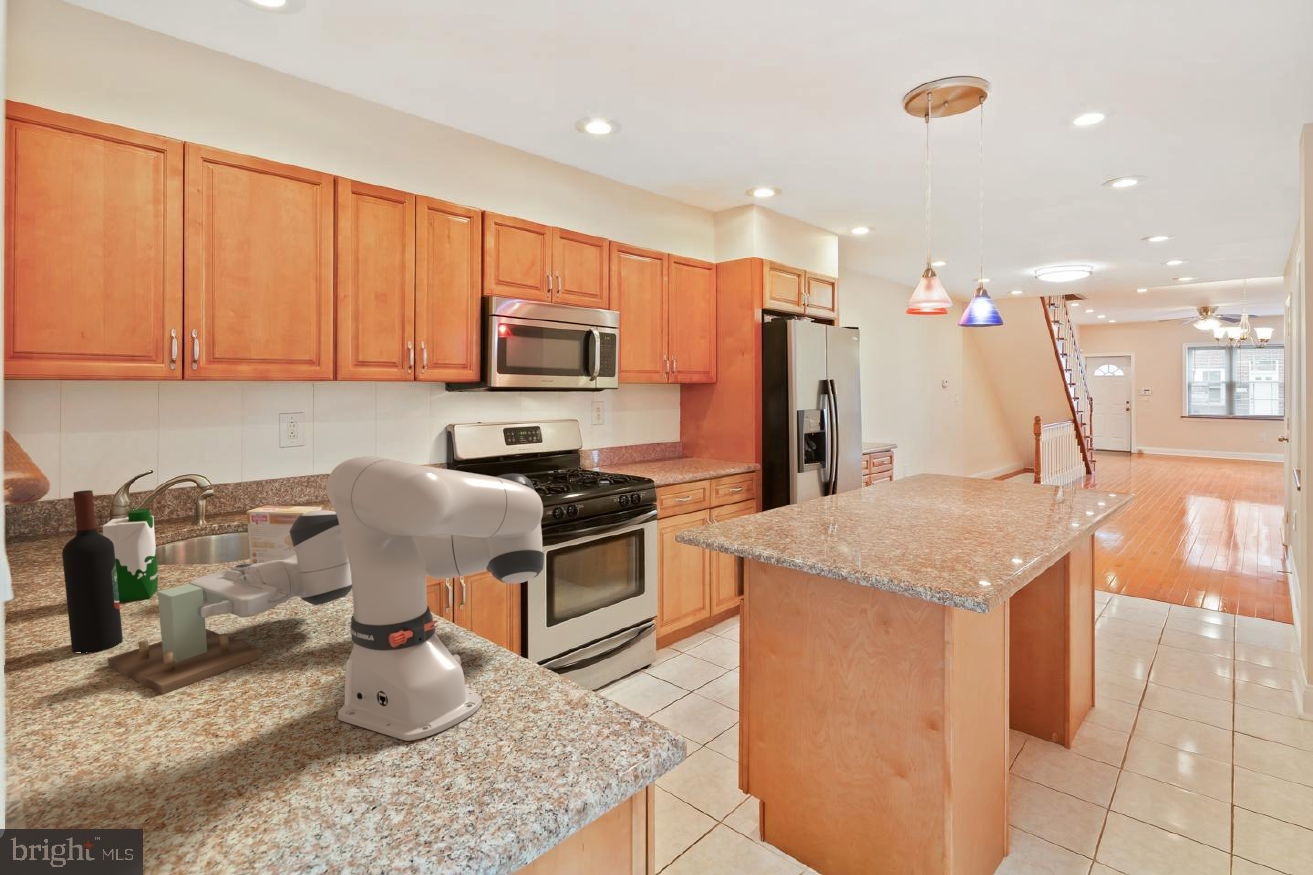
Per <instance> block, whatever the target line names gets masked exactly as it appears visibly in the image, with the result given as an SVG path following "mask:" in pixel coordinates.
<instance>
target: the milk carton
mask: <svg viewBox="0 0 1313 875" xmlns="http://www.w3.org/2000/svg"><path fill="white" fill-rule="evenodd" d="M127 514H128V516H127V517H122V518H121V517H120V518H112V519H111V520H109V521H108V522H107V523H105V524H103V525H102V534H103V536H105V537H107V538H109V539H110V540H111V541H112V542H113V544H114V551H115V562H116V572H117V583H118V594H119V603H125V602H132V601H140V600H149V599H151V598H152V597H153V596H154V594H156V592H157V590H158V585H159V584H158V582H159V580H158V579H159V576H158V575H159V570H158V557H157V546H156V534H155V520H154V518H155V517H154V515H151V510H150V509H149V508H141V509H140V508H139V509H133V510H129V511H128V512H127Z"/></svg>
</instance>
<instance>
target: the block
mask: <svg viewBox="0 0 1313 875" xmlns="http://www.w3.org/2000/svg"><path fill="white" fill-rule="evenodd" d="M157 600H158V613H159V622H160V623H159V625H160V636H161V641H162V649H163V653H165V652H168V651H173V658H174V661H175V662H179V661H182V660H185V659H188V658H191V657H194V656H197V655H200V654H203V653H206V652H207V640H206V629H207V628H206V617H202V616H199V615H198V608H199V607H200V606H204V605H205V604H204V602H203V589H202V588H200V587H197V586H194V585H191V584H189V583H186V584H182V585H179V586H174V587H170V588H167V589H163V590H158V591H157Z"/></svg>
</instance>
